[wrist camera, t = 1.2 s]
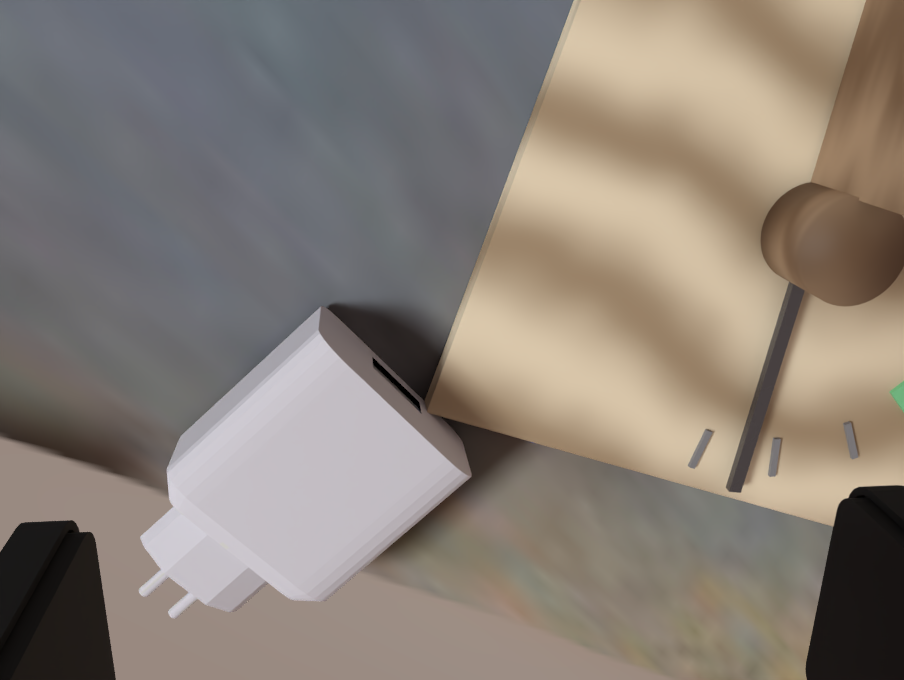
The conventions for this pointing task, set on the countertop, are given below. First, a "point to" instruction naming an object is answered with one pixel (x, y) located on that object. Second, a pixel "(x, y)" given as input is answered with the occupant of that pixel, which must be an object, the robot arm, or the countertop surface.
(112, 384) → the countertop surface
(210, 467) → the charger
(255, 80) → the countertop surface
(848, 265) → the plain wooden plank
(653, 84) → the board
